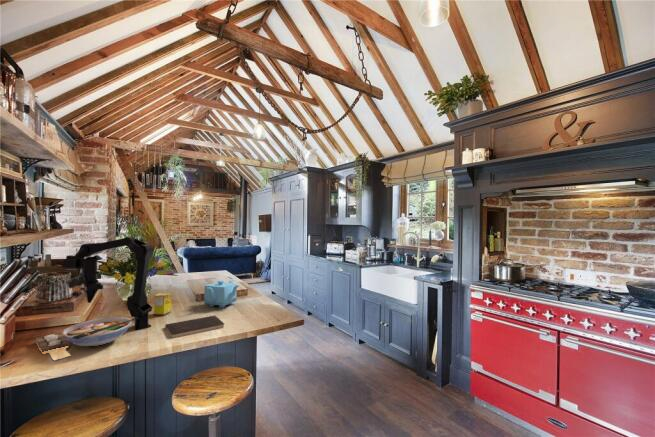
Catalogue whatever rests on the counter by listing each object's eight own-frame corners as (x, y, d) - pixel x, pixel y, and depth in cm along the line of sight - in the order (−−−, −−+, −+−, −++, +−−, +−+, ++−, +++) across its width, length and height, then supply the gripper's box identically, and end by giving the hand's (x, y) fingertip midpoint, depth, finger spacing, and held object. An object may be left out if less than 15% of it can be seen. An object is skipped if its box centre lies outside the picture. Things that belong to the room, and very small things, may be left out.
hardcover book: (224, 328, 142) (224, 323, 143) (171, 339, 129) (171, 334, 129) (214, 319, 155) (214, 315, 155) (165, 328, 141) (165, 323, 141)
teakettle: (202, 303, 183) (203, 279, 183) (234, 299, 192) (234, 276, 192) (206, 311, 167) (206, 285, 167) (240, 307, 175) (240, 282, 176)
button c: (56, 341, 124) (56, 335, 124) (44, 344, 121) (44, 338, 121) (54, 339, 126) (54, 333, 126) (43, 342, 123) (43, 336, 123)
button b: (58, 342, 121) (58, 336, 121) (47, 344, 118) (47, 338, 118) (56, 340, 123) (56, 334, 123) (45, 342, 120) (45, 336, 120)
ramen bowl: (111, 329, 139) (112, 311, 139) (146, 336, 130) (146, 318, 130) (45, 351, 115) (45, 330, 115) (82, 361, 107) (82, 339, 107)
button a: (61, 347, 118) (61, 341, 118) (49, 350, 115) (49, 344, 115) (59, 345, 120) (59, 339, 120) (48, 347, 117) (48, 341, 117)
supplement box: (171, 312, 164) (171, 292, 165) (164, 316, 158) (164, 295, 159) (161, 312, 165) (161, 292, 165) (153, 315, 159) (153, 295, 159)
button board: (70, 347, 119) (70, 342, 119) (42, 354, 112) (42, 349, 112) (60, 337, 129) (60, 332, 129) (34, 343, 123) (34, 337, 123)
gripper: (62, 269, 140) (62, 302, 140) (72, 274, 129) (72, 310, 128) (91, 267, 149) (91, 298, 149) (103, 271, 137) (103, 304, 137)
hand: (89, 302), depth 141 cm, fingers closed
